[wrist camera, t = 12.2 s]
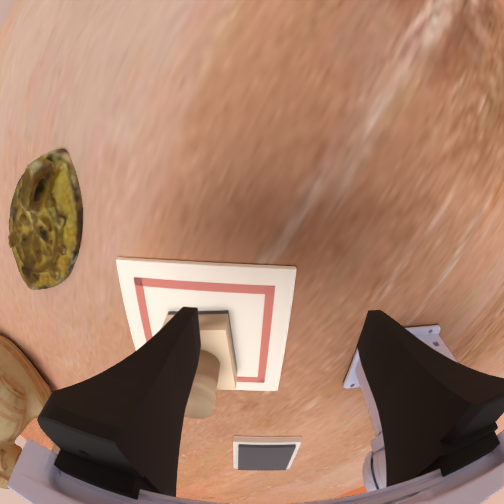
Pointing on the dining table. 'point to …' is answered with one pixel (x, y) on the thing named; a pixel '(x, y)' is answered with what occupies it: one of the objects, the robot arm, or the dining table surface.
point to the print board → (216, 307)
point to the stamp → (211, 362)
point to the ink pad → (264, 452)
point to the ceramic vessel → (17, 402)
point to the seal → (46, 220)
